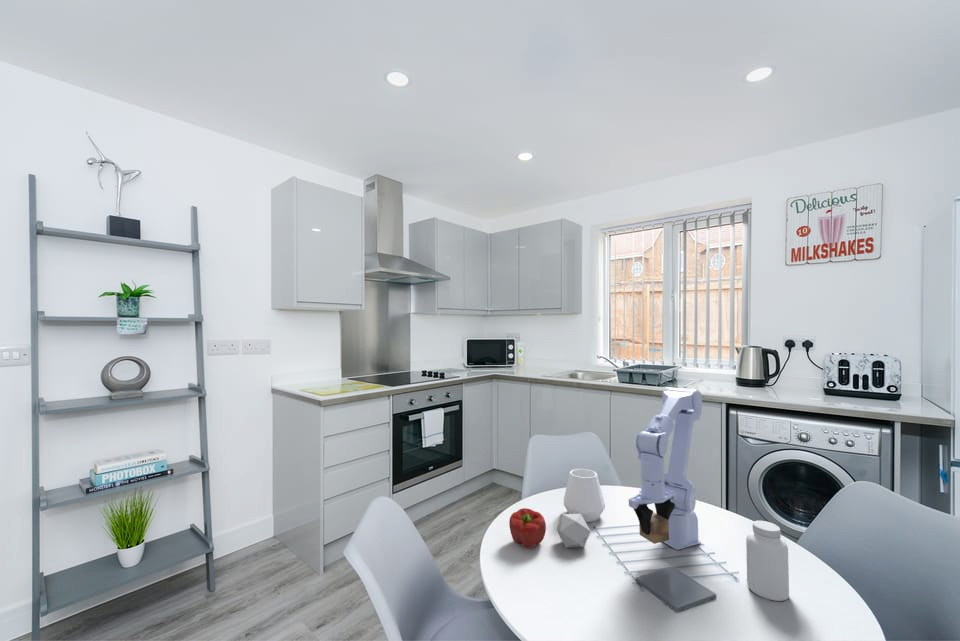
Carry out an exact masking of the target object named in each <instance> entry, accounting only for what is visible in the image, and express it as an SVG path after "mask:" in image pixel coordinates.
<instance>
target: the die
mask: <svg viewBox="0 0 960 641" xmlns="http://www.w3.org/2000/svg"><path fill="white" fill-rule="evenodd" d="M556 531H557V534H558V535H559V538H560V540H561V542H562V543H563V545H564V547H565V548H566V549H569V548H570V549H571V548H573V549H574V548H585V546H586V544H587V541H588V539H589V536H590V534H591V530H590V528H589V526H588V524H587V522H585V520H584V519H583V517H582V515H581V514H569V513H562V515H561V518H560V520H559V523H558V525H557V528H556Z"/></svg>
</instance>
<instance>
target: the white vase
mask: <svg viewBox="0 0 960 641" xmlns="http://www.w3.org/2000/svg"><path fill="white" fill-rule="evenodd" d="M563 506H564V508H565V509H566V511H567V512H568V513H567V514H581V515H582V517H583V519H584V520H585V522H586V523H593V522H595V521H596V522H597V520H599V518H600V517H601V515H602V514H603V513H604V510H605V509H606V502H605V499H604V496H603V492H602V489H601V484H600V481H599V476H598V472H596V471H593V470H592V469H587V468H574V469H572V470H570V471H569V474H568V479H567V484H566V487H565V493H564V495H563Z"/></svg>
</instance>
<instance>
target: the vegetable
mask: <svg viewBox="0 0 960 641" xmlns="http://www.w3.org/2000/svg"><path fill="white" fill-rule="evenodd" d="M508 522H509V524H508V525H509V530H510V535H511V538H512V540H513V542H514V543H515V544H517V545H518V546H519V545H520V546H523V547H524V548H525V549H532V548H535V546H537V545H538V546H539V545H540V544H541V543H542V542H543V540H544V539H545V534H546V531H547V530H546V529H547V523H546V520H545V518H544V516H543V515H542V514H541V513H540V512H538V511H535V510H533V509H530V508H524V507H522V508H520V509H518V510H516V511H515V512H513V513H512V514H511V515H510V517H509V520H508Z"/></svg>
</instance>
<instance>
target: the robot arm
mask: <svg viewBox="0 0 960 641" xmlns="http://www.w3.org/2000/svg"><path fill="white" fill-rule="evenodd" d="M661 395H662V397H661V399H662V403H663V405H662V408H661V410H660V413H659V414H655V415H654V416H653V417H652V418H651V421H650V422H649V423H648V426H647V427H646V429H645V430H642V431H641V432H639V433H637V436H636V438H635V439H636V440H635V449H636V451H637V458H638V460H639V462H640V463H639V464H640V490H639V493H638V494H636V495H634V496H632V497H630V498H628V506H629V507H630V508H632V509H633V511H634V513H635V515H636V517H637V518H638V522H639V523H640V526H641V530H642V532H643V533H645V534H646V535H650V523H651V517H652V514H653V512H654V510H652V509H650V508H649V506H648V505H651V504H654V507H655V513H656V514H658V515H660V516H661V517H663V518H665V519H667V520H669V540H667V541H663V542H662V543H664V544H666V545H667V546H669V547H672V548H673V549H675V550H679V551H680V550H682V549H686V548H688V547H689V548H690V547H693V546H695V545H699V544H701V543H702V541H701V540H699V520H698V515H697V514H696V512H695V511H694V510H695V507H696V503H697V502H696V498H697V497H696V487H695V485H694V483H693V482H692V481H691V480H690V479H688V477H687V474H688V473H687V472H688V464H689V457H690V456H689V455H690V449H691V442H692V435H693V428H694V423H695V422H696V421H698V420H700V419H701V418H700V417H701V415H702V414H701V413H702V407H703V398H702V397H703V396H702V393H701V392H700V390H699V389H691V388H680V387H678V388H677V387H669V386H667V387H665V388H664V389H663V391H662V394H661ZM674 421H675V422H674ZM674 423H675V424H674ZM672 432H673V435H672V443H671V450H670V456H669V463H668V470H667V472H665V456H666V454H667V452H668V451H667V450H668V447H669V438H670V436H671V434H672Z"/></svg>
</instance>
